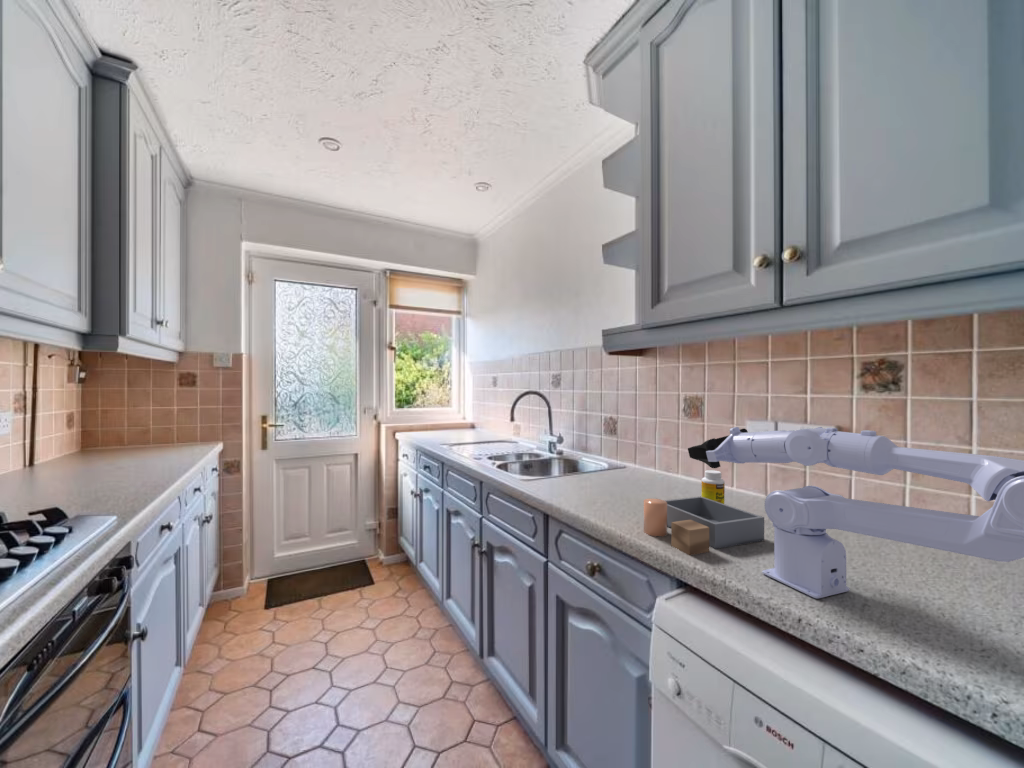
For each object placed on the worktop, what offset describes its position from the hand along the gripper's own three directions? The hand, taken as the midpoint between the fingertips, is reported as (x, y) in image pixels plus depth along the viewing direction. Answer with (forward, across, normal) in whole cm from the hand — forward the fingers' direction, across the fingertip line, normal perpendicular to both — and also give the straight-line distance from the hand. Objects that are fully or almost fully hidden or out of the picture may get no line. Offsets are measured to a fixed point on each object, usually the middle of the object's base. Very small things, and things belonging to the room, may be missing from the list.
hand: (702, 448), depth 88 cm
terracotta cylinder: (+10, +10, +17) cm, 22 cm away
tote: (+7, -2, +20) cm, 21 cm away
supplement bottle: (+18, -17, +21) cm, 32 cm away
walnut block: (0, +10, +18) cm, 21 cm away
